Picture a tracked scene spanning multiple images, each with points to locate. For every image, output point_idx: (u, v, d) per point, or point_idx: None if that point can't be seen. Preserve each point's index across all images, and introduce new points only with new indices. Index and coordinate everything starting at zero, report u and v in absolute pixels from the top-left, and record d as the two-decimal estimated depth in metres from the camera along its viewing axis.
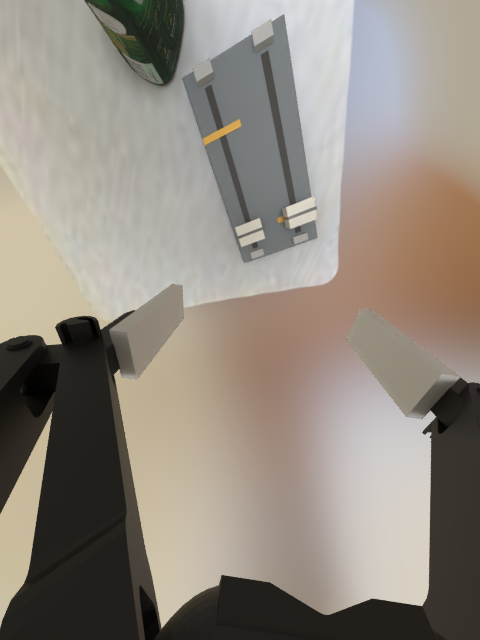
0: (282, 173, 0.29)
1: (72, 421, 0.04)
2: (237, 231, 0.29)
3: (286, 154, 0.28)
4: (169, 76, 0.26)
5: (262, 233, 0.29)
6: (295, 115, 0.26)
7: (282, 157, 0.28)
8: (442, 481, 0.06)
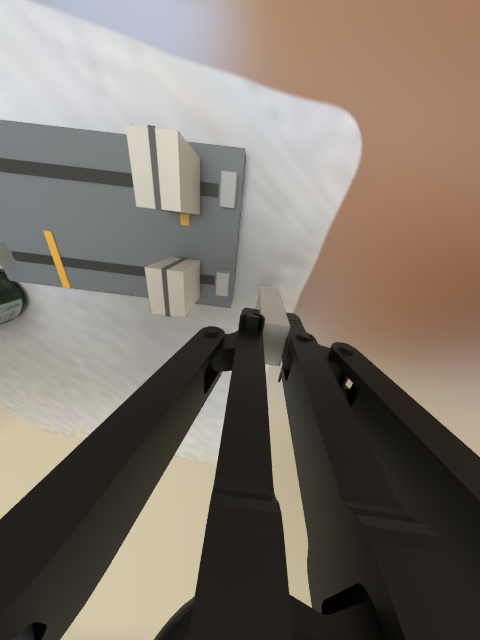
0: (116, 188, 0.16)
1: (241, 390, 0.06)
2: (157, 312, 0.16)
3: (90, 169, 0.16)
4: (14, 290, 0.23)
5: (172, 273, 0.14)
6: (38, 132, 0.15)
7: (93, 180, 0.16)
8: (295, 425, 0.07)
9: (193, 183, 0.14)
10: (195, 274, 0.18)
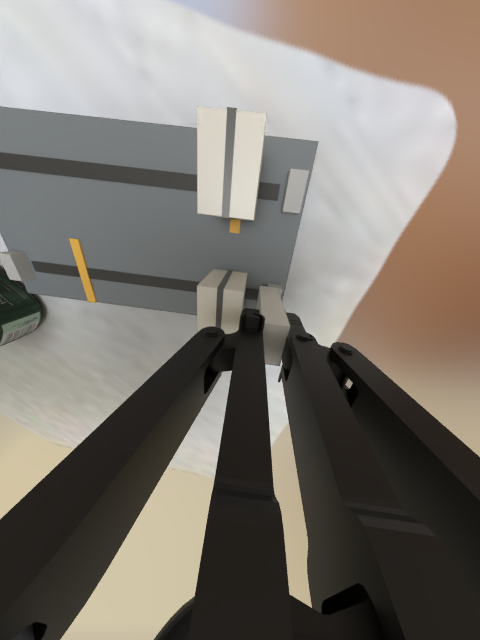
0: (156, 189, 0.14)
1: (241, 390, 0.06)
2: None
3: (127, 168, 0.14)
4: (32, 303, 0.21)
5: (231, 293, 0.12)
6: (69, 123, 0.13)
7: (130, 180, 0.14)
8: (295, 425, 0.07)
9: None
10: None
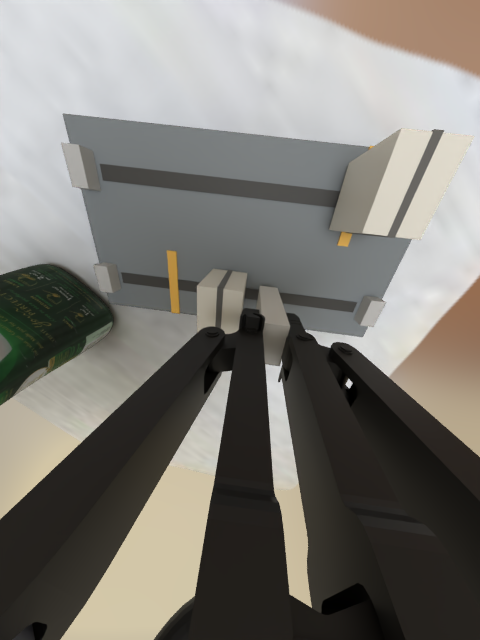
0: (270, 203, 0.14)
1: (241, 390, 0.06)
2: None
3: (244, 181, 0.13)
4: (107, 313, 0.21)
5: (230, 293, 0.12)
6: (194, 137, 0.12)
7: (244, 193, 0.14)
8: (295, 425, 0.07)
9: None
10: None
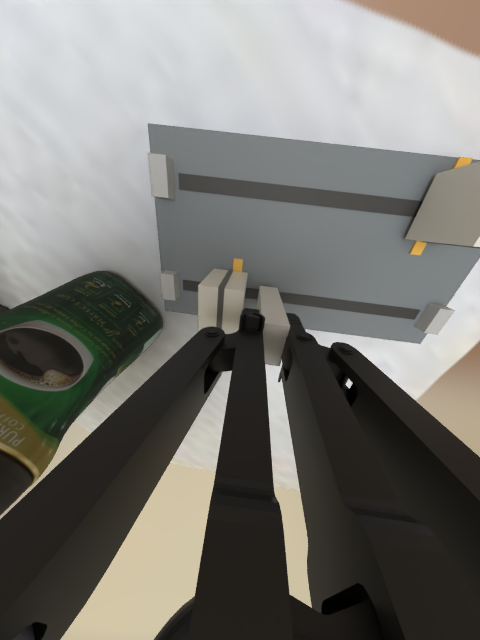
0: (347, 212, 0.14)
1: (241, 390, 0.06)
2: None
3: (324, 191, 0.13)
4: (158, 319, 0.21)
5: (231, 292, 0.12)
6: (279, 147, 0.12)
7: (322, 203, 0.14)
8: (295, 425, 0.07)
9: None
10: None
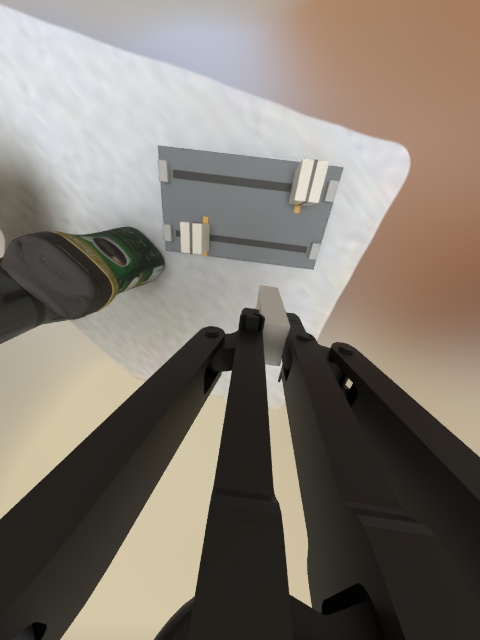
0: (258, 190, 0.27)
1: (241, 390, 0.06)
2: (185, 251, 0.27)
3: (245, 179, 0.27)
4: (161, 258, 0.34)
5: (195, 225, 0.25)
6: (221, 157, 0.26)
7: (245, 185, 0.27)
8: (295, 425, 0.07)
9: None
10: (207, 231, 0.29)
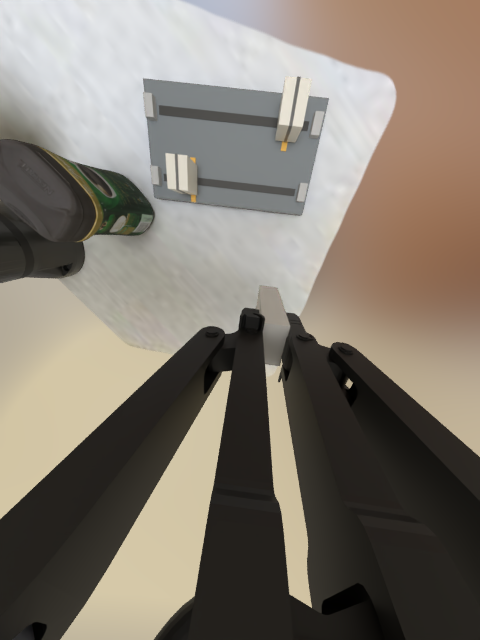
0: (244, 126, 0.27)
1: (241, 390, 0.06)
2: (171, 187, 0.27)
3: (231, 114, 0.27)
4: (150, 208, 0.34)
5: (181, 156, 0.25)
6: (206, 90, 0.26)
7: (231, 121, 0.27)
8: (295, 425, 0.07)
9: None
10: (194, 171, 0.29)
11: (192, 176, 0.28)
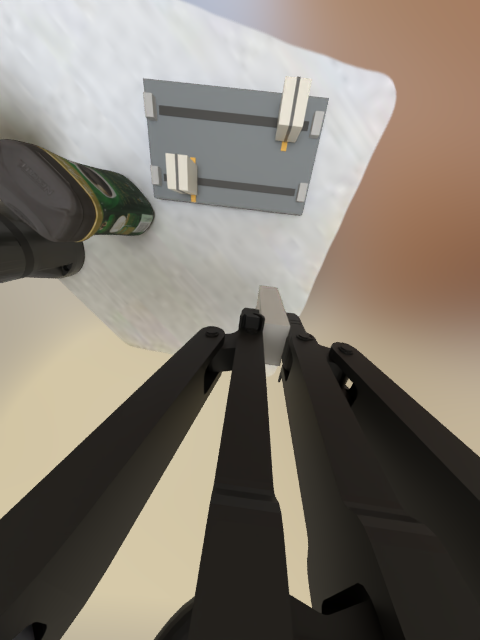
0: (244, 126, 0.27)
1: (241, 390, 0.06)
2: (171, 187, 0.27)
3: (231, 114, 0.27)
4: (150, 208, 0.34)
5: (181, 156, 0.25)
6: (206, 90, 0.26)
7: (231, 121, 0.27)
8: (295, 425, 0.07)
9: None
10: (194, 171, 0.29)
11: (192, 176, 0.28)
